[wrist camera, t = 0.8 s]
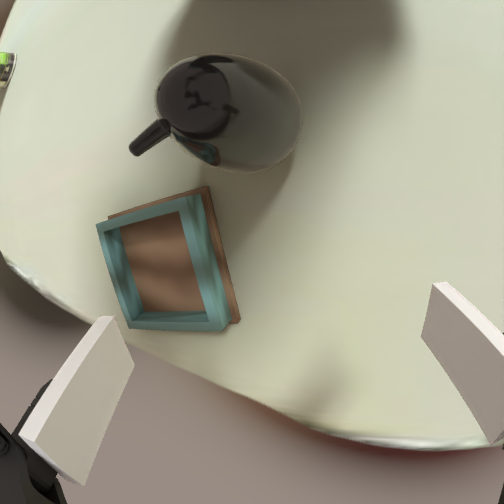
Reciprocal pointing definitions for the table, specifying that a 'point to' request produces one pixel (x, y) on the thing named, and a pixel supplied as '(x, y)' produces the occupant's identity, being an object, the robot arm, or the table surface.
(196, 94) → the dark grey glossy oval
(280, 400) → the table surface
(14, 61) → the coffee can
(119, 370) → the robot arm
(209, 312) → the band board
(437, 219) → the table surface
